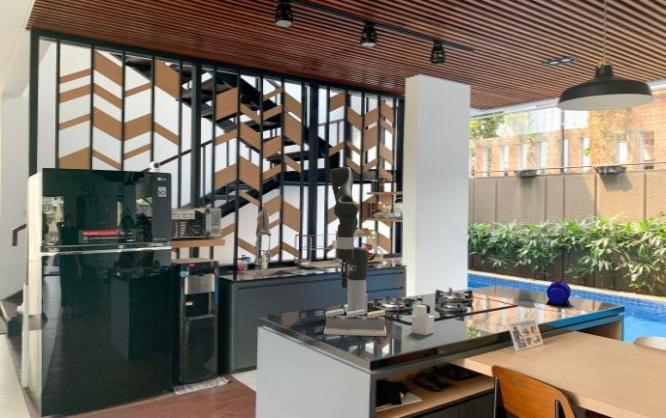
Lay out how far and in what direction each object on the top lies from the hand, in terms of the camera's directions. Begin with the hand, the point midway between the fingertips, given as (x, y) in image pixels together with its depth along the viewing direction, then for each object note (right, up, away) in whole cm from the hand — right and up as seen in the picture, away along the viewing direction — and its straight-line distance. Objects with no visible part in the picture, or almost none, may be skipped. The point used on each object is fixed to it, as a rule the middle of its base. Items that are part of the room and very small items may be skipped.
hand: (344, 287), depth 223 cm
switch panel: (+5, -19, -3) cm, 19 cm away
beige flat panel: (+14, -13, -1) cm, 19 cm away
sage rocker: (-4, -13, 0) cm, 13 cm away
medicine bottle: (+34, -19, -3) cm, 39 cm away
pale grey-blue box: (+5, -13, -1) cm, 14 cm away
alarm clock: (+125, -21, +72) cm, 146 cm away
